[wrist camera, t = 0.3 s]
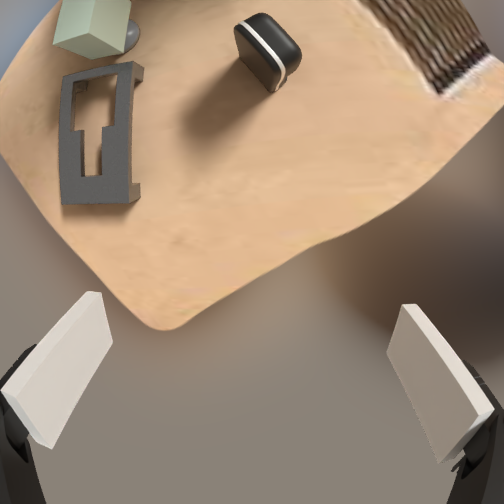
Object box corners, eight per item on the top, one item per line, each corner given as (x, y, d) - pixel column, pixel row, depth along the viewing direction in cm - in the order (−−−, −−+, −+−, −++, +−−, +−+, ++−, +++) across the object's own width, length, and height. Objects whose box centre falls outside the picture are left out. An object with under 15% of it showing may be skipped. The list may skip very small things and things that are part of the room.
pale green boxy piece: (108, 19, 28) (64, -12, 16) (143, 11, 28) (105, -27, 16) (101, 65, 30) (49, 45, 19) (136, 59, 30) (91, 31, 19)
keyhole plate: (77, 80, 31) (62, 76, 27) (144, 67, 31) (133, 61, 27) (75, 198, 37) (61, 204, 34) (140, 197, 37) (129, 203, 34)
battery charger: (295, 79, 32) (312, 53, 21) (271, 95, 33) (277, 74, 22) (261, 40, 30) (263, 1, 19) (237, 55, 31) (229, 21, 20)
